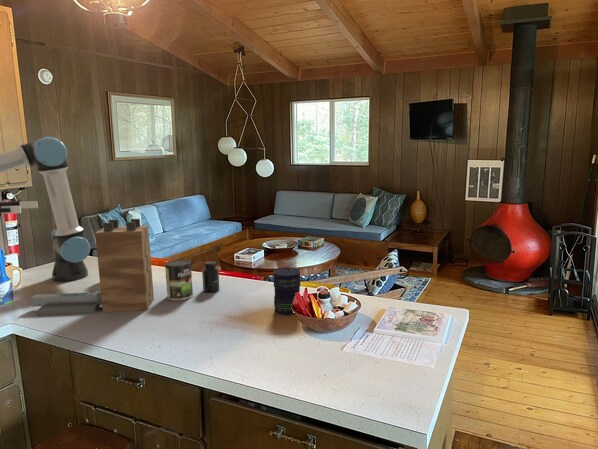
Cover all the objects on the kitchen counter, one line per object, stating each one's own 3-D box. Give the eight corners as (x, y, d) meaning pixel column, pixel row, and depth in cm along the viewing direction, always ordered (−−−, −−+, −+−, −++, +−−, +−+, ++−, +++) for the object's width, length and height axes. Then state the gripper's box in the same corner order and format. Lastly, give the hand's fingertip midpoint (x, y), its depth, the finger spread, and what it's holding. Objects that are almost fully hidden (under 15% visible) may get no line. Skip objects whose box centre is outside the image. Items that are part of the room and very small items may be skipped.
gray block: (51, 304, 180) (51, 299, 180) (104, 301, 182) (104, 296, 181) (37, 315, 168) (37, 310, 168) (94, 312, 170) (93, 307, 170)
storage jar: (297, 316, 163) (297, 275, 161) (271, 314, 165) (270, 274, 163) (303, 306, 173) (302, 268, 170) (277, 305, 175) (276, 267, 172)
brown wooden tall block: (112, 301, 182) (104, 219, 176) (153, 299, 184) (147, 217, 178) (102, 312, 170) (94, 224, 164) (147, 309, 172) (140, 223, 166)
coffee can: (198, 295, 188) (196, 261, 185) (178, 302, 179) (175, 267, 177) (182, 290, 194) (180, 258, 191) (161, 297, 186) (159, 263, 183)
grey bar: (37, 302, 176) (36, 291, 175) (107, 300, 178) (106, 288, 177) (31, 307, 171) (29, 295, 170) (103, 304, 173) (101, 293, 172)
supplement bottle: (217, 292, 190) (216, 264, 188) (201, 293, 190) (199, 264, 188) (221, 287, 197) (219, 260, 195) (205, 287, 197) (203, 260, 195)
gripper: (-10, 213, 187) (44, 211, 189) (-50, 224, 163) (14, 222, 165) (-13, 194, 186) (42, 193, 188) (-53, 203, 162) (11, 201, 164)
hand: (29, 206), depth 176 cm, fingers open, 13 cm apart
